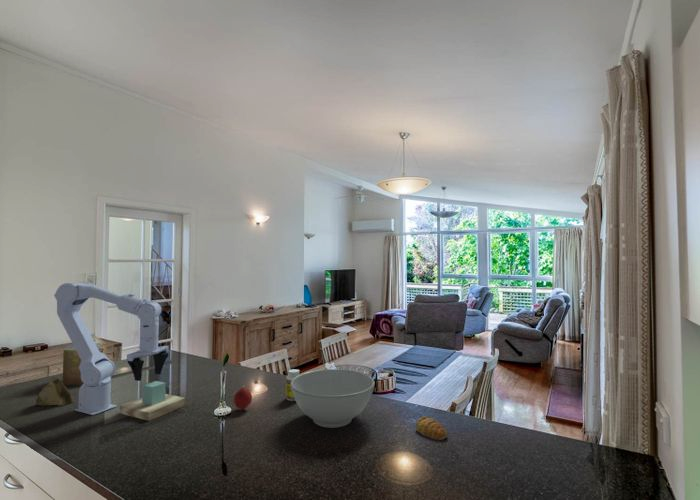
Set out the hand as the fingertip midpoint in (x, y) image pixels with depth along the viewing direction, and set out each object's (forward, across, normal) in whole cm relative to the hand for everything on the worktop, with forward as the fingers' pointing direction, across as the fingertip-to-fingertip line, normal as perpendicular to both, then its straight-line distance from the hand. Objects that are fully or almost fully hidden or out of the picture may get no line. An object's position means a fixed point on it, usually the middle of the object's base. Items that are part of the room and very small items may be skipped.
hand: (148, 377), depth 127 cm
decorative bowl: (+11, +18, -62) cm, 65 cm away
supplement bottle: (+11, +28, -41) cm, 51 cm away
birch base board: (+10, 0, -3) cm, 11 cm away
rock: (+11, -11, +33) cm, 36 cm away
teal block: (+8, 0, -3) cm, 8 cm away
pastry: (+11, +22, -93) cm, 96 cm away
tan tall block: (+11, +9, +50) cm, 52 cm away
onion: (+11, +12, -31) cm, 35 cm away
